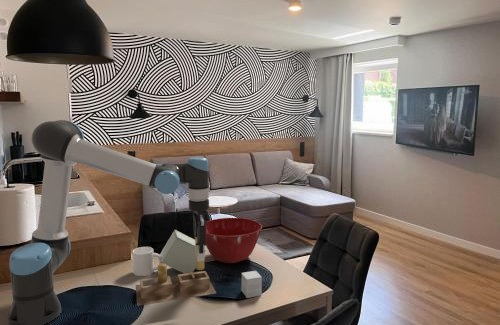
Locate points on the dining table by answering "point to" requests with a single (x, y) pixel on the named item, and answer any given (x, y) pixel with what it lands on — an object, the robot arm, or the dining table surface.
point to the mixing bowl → (231, 238)
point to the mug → (144, 261)
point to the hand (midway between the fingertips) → (200, 258)
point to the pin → (198, 263)
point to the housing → (179, 253)
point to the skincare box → (251, 284)
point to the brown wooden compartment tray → (173, 287)
